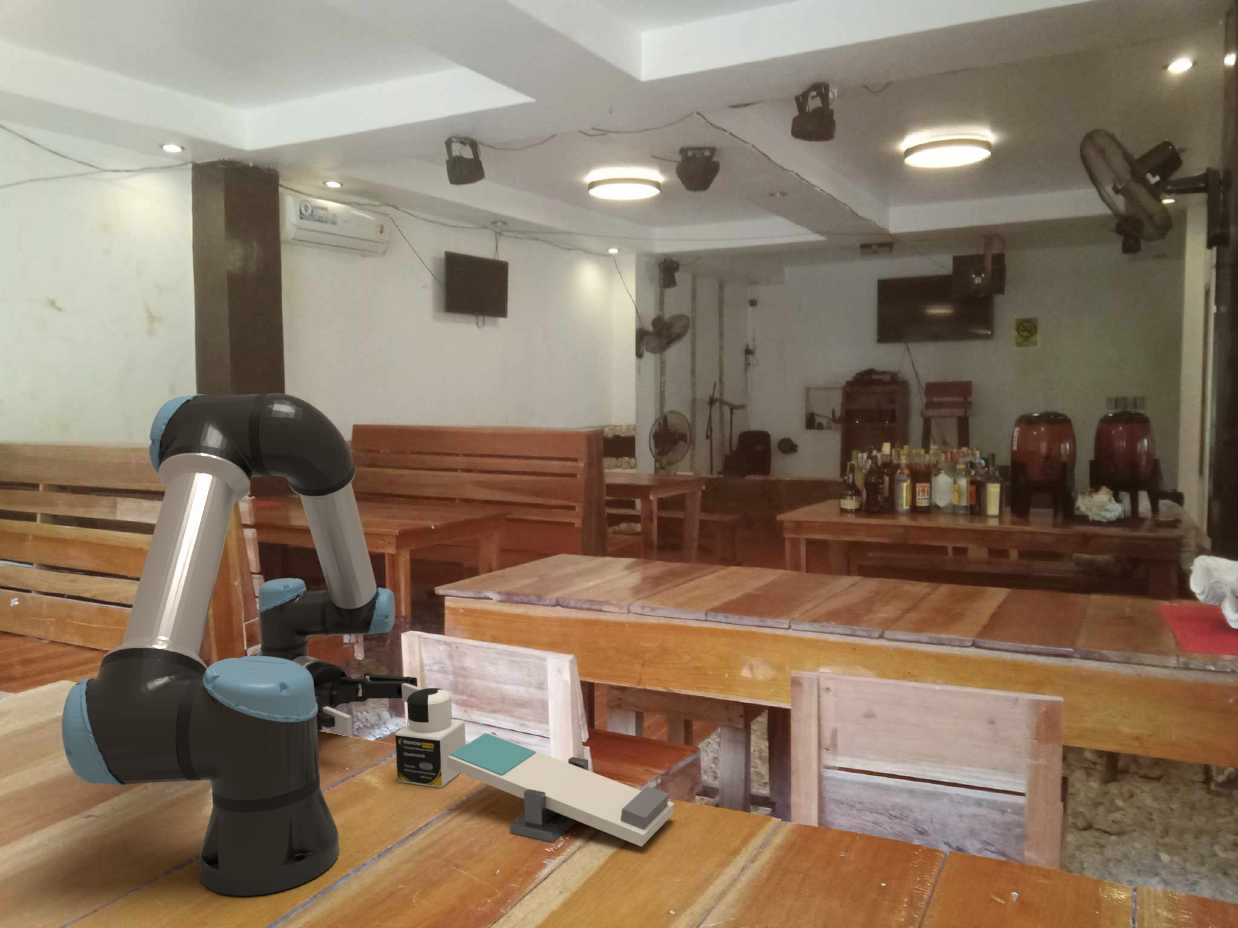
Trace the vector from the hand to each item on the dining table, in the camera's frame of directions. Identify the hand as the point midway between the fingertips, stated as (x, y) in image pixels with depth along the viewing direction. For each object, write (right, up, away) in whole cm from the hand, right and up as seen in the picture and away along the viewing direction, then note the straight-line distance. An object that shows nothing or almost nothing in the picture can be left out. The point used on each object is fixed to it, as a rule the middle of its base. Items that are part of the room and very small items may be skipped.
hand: (390, 712), depth 140 cm
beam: (+26, -5, -20) cm, 33 cm away
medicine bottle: (+7, -7, -6) cm, 12 cm away
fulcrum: (+26, -8, -19) cm, 33 cm away
